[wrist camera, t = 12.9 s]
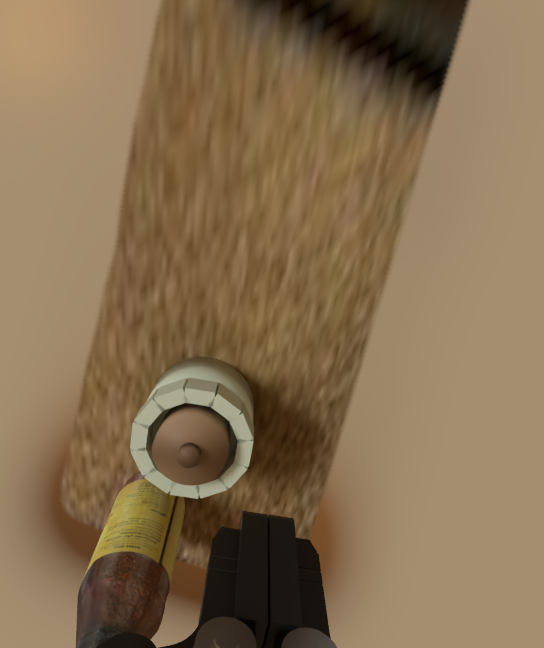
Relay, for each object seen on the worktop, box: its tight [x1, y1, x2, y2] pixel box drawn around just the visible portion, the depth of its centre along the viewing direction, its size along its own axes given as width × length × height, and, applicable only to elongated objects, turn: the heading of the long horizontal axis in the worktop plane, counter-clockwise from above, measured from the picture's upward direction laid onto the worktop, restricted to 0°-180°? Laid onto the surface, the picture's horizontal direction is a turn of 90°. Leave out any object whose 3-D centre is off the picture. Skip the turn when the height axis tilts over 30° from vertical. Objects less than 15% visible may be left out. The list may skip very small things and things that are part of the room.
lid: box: [152, 403, 231, 486], centre depth 36 cm, size 6×6×4 cm
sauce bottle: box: [76, 472, 186, 648], centre depth 36 cm, size 6×6×20 cm
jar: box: [130, 357, 254, 499], centre depth 40 cm, size 9×9×7 cm
